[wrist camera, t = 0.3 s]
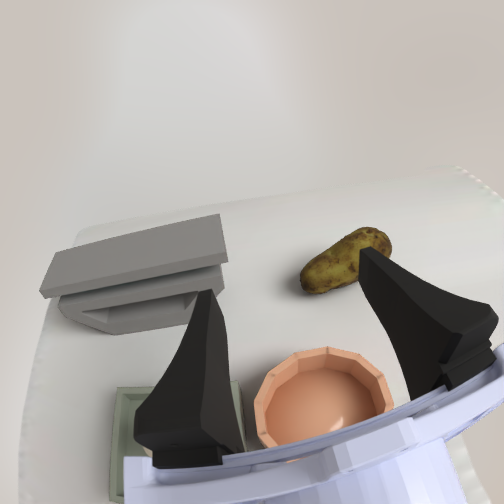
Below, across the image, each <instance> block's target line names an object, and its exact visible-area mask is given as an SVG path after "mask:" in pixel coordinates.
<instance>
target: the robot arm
mask: <svg viewBox="0 0 504 504" xmlns="http://www.w3.org/2000/svg"><path fill="white" fill-rule="evenodd" d="M358 281H359V283H360V285H361V288H362V290H363V292H364V294H365V297H366V298H367V300H368V302H369V303H370V305H371V307H372V309H373V310H374V312H375V314H376V315H377V317H378V319H379V320H380V322H381V324H382V325H383V327H384V329H385V330H386V332H387V334H388V336H389V338H390V341H391V343H392V345H393V348H394V350H395V353H396V355H397V358H398V361H399V363H400V366H401V369H402V372H403V375H404V378H405V381H406V385H407V388H408V392H409V396H410V399H411V401H410V402H408V403H406V404H404V405H402V406H399V407H397V408H395V409H392V410H390V411H388V412H385V413H383V414H380V415H378V416H375V417H373V418H370V419H367V420H365V421H362V422H359V423H356V424H354V425H351V426H348V427H345V428H342V429H339V430H336V431H332V432H329V433H326V434H323V435H319V436H316V437H312V438H308V439H305V440H301V441H297V442H293V443H289V444H284V445H280V446H276V447H271V448H266V449H261V450H255V451H250V452H245V449H244V445H243V441H242V437H241V433H240V429H239V425H238V420H237V416H236V411H235V406H234V401H233V395H232V390H231V384H230V376H229V361H228V344H227V333H226V327H225V321H224V316H223V314H222V312H221V309H220V307H219V304H218V302H217V300H216V297H215V295H214V292H213V290H212V288H211V289H207V290H203V291H199V293H198V295H197V299H196V302H195V306H194V309H193V312H192V315H191V318H190V321H189V324H188V327H187V329H186V332H185V334H184V336H183V339H182V341H181V344H180V346H179V348H178V350H177V352H176V354H175V356H174V358H173V360H172V362H171V363H170V365H169V367H168V368H167V370H166V372H165V373H164V375H163V376H162V378H161V379H160V381H159V382H158V384H157V385H156V386H155V388H154V389H153V391H152V392H151V393H150V394H149V396H148V397H147V398H146V399H145V400H144V401H143V403H142V404H141V405H140V406H139V407H138V408H137V409H136V410H135V417H134V429H133V438H134V440H135V441H136V442H137V443H138V444H140V445H142V446H144V447H145V448H147V449H149V450H151V451H152V457H148V456H125V457H124V463H123V482H124V504H468V503H467V500H466V498H465V495H464V492H463V489H462V486H461V483H460V481H459V478H458V475H457V472H456V470H455V467H454V465H453V462H452V460H451V457H450V455H449V452H448V450H447V447H446V445H445V442H447V441H448V440H450V439H452V438H453V437H455V436H457V435H458V434H460V433H461V432H463V431H464V430H466V429H467V428H469V427H470V426H472V425H473V424H475V423H476V422H477V421H479V420H480V419H482V418H483V417H485V416H486V415H487V414H489V413H490V412H491V411H493V410H494V409H495V408H497V407H498V406H499V405H501V404H502V403H503V402H504V343H502V344H501V345H499V346H498V347H497V348H496V349H495V350H494V351H493V352H492V350H491V349H490V347H491V345H492V343H491V342H490V340H489V338H490V336H491V335H492V333H493V331H494V330H495V328H496V326H497V324H498V320H499V318H498V316H497V314H496V313H495V312H494V310H493V309H492V308H491V306H490V305H489V304H486V303H481V302H477V301H473V300H469V299H466V298H463V297H460V296H457V295H454V294H452V293H449V292H447V291H444V290H442V289H440V288H438V287H436V286H434V285H432V284H430V283H428V282H426V281H424V280H422V279H420V278H418V277H417V276H415V275H413V274H412V273H410V272H408V271H407V270H405V269H404V268H402V267H401V266H399V265H398V264H396V263H395V262H393V261H392V260H390V259H389V258H387V257H386V256H384V255H383V254H381V253H380V252H379V251H377V250H376V249H374V248H373V247H371V246H370V247H366V248H363V249H360V251H359V274H358ZM311 455H312V456H311ZM308 456H309V457H308ZM304 457H305V458H304ZM300 458H302V459H300ZM296 459H299V460H296ZM291 460H296V461H293V462H289V463H287V461H291Z"/></svg>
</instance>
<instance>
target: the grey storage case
mask: <svg viewBox="0 0 504 504" xmlns="http://www.w3.org/2000/svg"><path fill="white" fill-rule="evenodd" d="M226 262H228V257H227V252H226V247H225V241H224V236H223V230H222V225H221V220H220V215H219V214H215V215H210V216H205V217H201V218H196V219H191V220H186V221H182V222H177V223H173V224H168V225H164V226H160V227H155V228H151V229H147V230H142V231H138V232H134V233H130V234H125V235H121V236H117V237H113V238H109V239H105V240H101V241H97V242H93V243H90V244H86V245H82V246H78V247H74V248H71V249H67V250H63V251H60V252H56V253H55V255H54V258H53V260H52V262H51V264H50V266H49V268H48V271H47V273H46V275H45V278H44V280H43V282H42V285H41V287H40V290H39V291H40V293H41V294H42V295H43V297H44V298H45V299H47V298H52V297H57V296H61V298H60V301H59V304H58V308H59V309H60V311H61V312H62V313H63V314H64V316H65V317H67V318H69V319H72V320H74V321H77V322H80V323H82V324H85V325H87V326H90V327H93V328H96V329H98V330H101V331H104V332H107V333H110V334H113V335H122V334H129V333H135V332H142V331H148V330H155V329H161V328H167V327H173V326H178V325H184V324H189V321H190V318H191V315H192V312H193V309H194V306H195V302H196V299H197V295H198V293H199V291H203V290H207V289H211V288H212V290H213V292H214V295H215V297H217V296H218V294H219V293H220V292H221V291H222V290H223V289H224V281H223V275H222V269H221V263H226Z"/></svg>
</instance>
